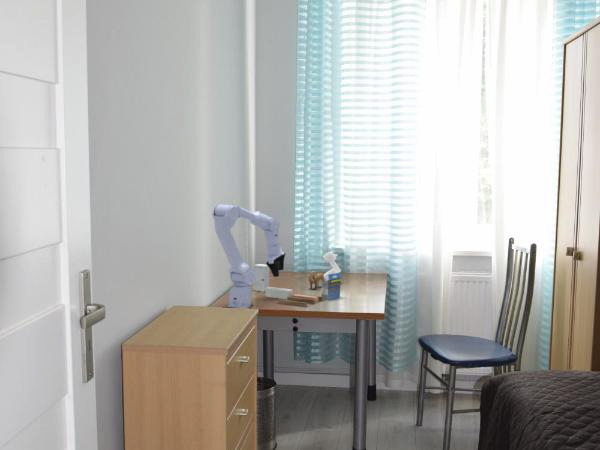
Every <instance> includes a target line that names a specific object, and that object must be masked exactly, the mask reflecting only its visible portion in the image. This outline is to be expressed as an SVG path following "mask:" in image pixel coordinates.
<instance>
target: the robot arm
mask: <svg viewBox="0 0 600 450" xmlns="http://www.w3.org/2000/svg"><path fill="white" fill-rule="evenodd" d="M211 215H212V218H213V220H214V229H215V233H216V235H217V238H218V240H219V242H220V245H221V246H222V249H223V252H224V253H225V255H226V258H227V260H228V263H229V264H230V267H229V268H228V272H229V279H230V281H231V282H232V285H233V287H230V290H229V292H228V300H229V301H228V302H229V303H228V305H227V308H231V309H232V308H233V309H240V308H245V309H248V308H251V307H254V304H252V286H253V285H254V281H255V273H254V270H252V268H251V267H250V265H249V264H247V263H246V262H245V261H244V259H243V257H242V254H241V252H240V250H239V247H238V245H237V243H236V240H235V238H234V236H233V234H232V231H231V229H232V228H233V227H234V225H235V223H236V222H237V220H238V218H240V219H241V218H242V219H246V220H249V223H250V224H251V225H253V226H255V227H258V228H260V229H261V230H262V231H263V233H264V236H265V238H264V239H265V244H266V249H267V253H268V255H267V258H268V260H267V262H266V263H265V265H267V266H268V267H269V271H270V272H271V274H272V276H273V277H274V278H276V277H279V276H280V271H283V270H284V266H285V258H286V257H285V256H286V252H284V251H283V248H282V247H281V242H280V237H279V227H280V222H279V221H278V219H277V218H276V217H270V216H269V214H264V213H262V211H260V210H257V211H253V212H251V211H250V210H248V209H246V208H243V207H241V206H239V205H235V204H221V203H218V204H216V205H215V206H214V207H213V210H212V214H211Z"/></svg>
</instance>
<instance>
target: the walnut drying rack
mask: <svg viewBox="0 0 600 450" xmlns="http://www.w3.org/2000/svg"><path fill="white" fill-rule="evenodd" d="M298 294H299V295H305V294H302V293H298ZM307 295H308V296H313V295H312V294H311V295H310V294H307ZM315 296H316V297H318V302H315V300H313V299H305V298H297V297H287V299H280V298H278V300H277V303H276V304H277V305H283V306H291V307H299V308H308V307H311V306H314V305H317V304H320V303H322V302H324V301H326V300H324V297H321V296H319V295H315Z"/></svg>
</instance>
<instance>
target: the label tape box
mask: <svg viewBox="0 0 600 450" xmlns="http://www.w3.org/2000/svg"><path fill="white" fill-rule="evenodd" d="M334 275H335V276H337V277H335V278H333V276H334ZM328 279H329V280H328V281H326V280H324V281H325V282H322V281H321V297H324V300H325V301H331V300H336V299H340V298H341V297H340V296H341V295H340V294H341V282H340V280H341V279H342V278H341V272H339V273H334V274H328ZM341 281H342V280H341Z"/></svg>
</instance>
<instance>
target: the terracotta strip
mask: <svg viewBox="0 0 600 450" xmlns="http://www.w3.org/2000/svg"><path fill="white" fill-rule="evenodd" d="M299 294H300V293H295V294H293V295H292V297H297V298H305V299H313V300H315V302H318V297H316V296H317V295H312V296H308V295H309V294H304V295H299Z"/></svg>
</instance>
